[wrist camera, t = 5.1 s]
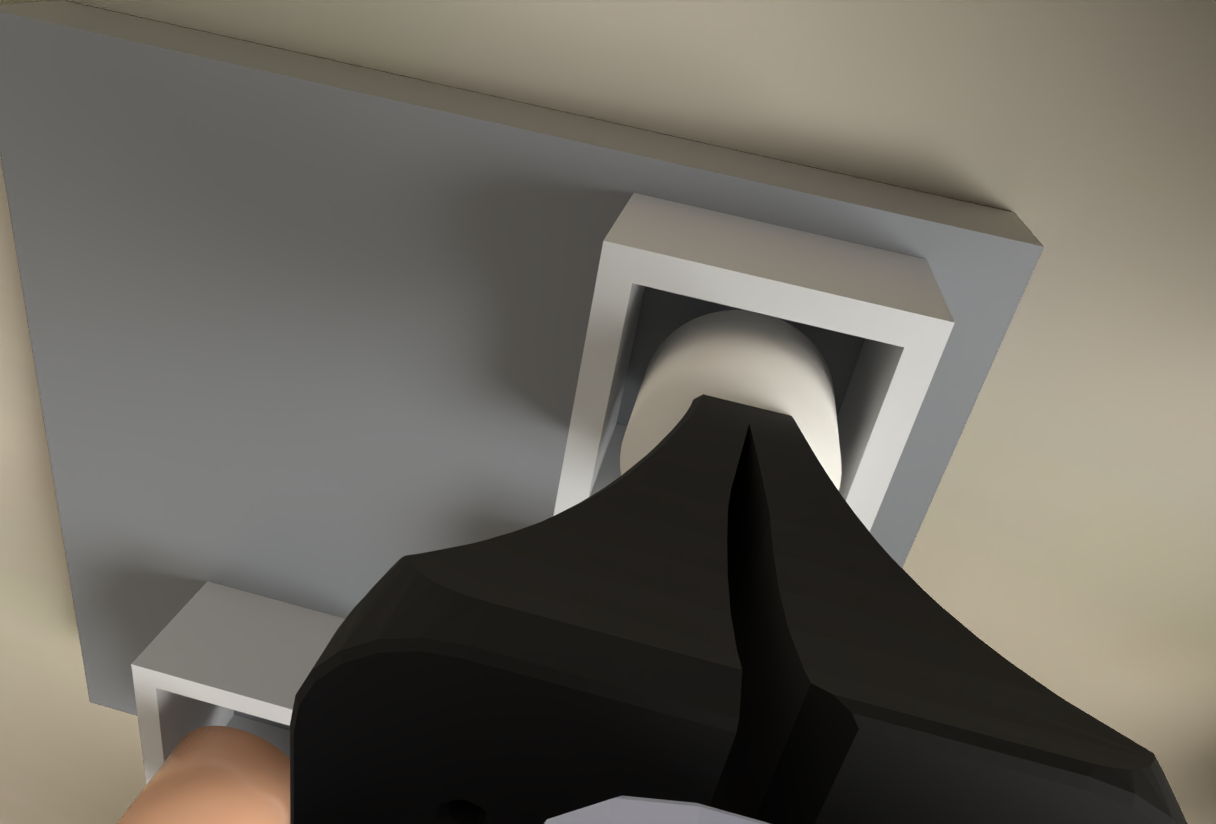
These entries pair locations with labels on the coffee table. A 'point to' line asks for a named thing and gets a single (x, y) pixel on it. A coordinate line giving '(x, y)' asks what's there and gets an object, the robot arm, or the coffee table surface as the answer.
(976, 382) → the gray socket board
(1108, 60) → the coffee table surface
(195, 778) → the peach rounded knob
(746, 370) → the white plug
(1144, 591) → the coffee table surface
